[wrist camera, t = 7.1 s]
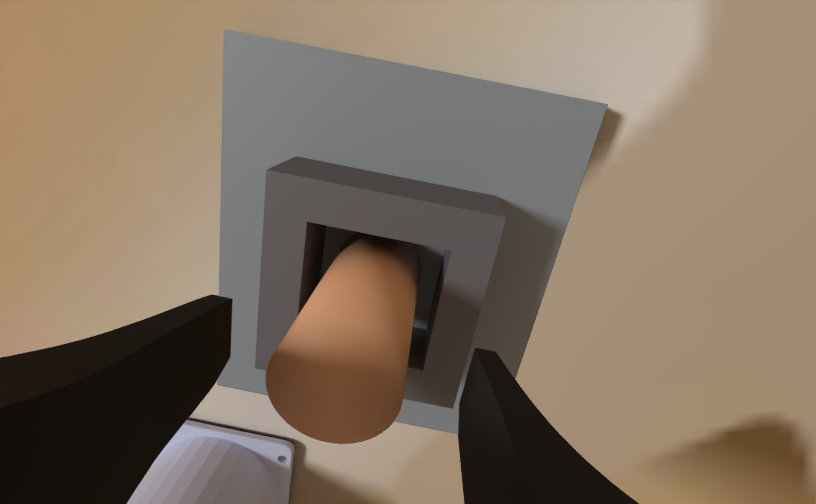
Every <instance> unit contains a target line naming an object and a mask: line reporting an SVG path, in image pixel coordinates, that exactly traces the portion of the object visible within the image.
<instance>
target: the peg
mask: <svg viewBox="0 0 816 504" xmlns="http://www.w3.org/2000/svg"><path fill="white" fill-rule="evenodd" d="M420 270H421V264H420V258H419V255H418V252H417V250H416V248H415V247H414V245H413V244H412V243H411V242H406V241H401V240H396V239H391V238H386V237H381V236H376V235H371V234H366V233H361V232H357V233H355V234H354V235H352V236H351V237H350V238H349V239H348V240H347V241H346V243H345V244H344V245H343V247H342V249H341V250H340V252H339V253H338V255H337V256H336V258H335V259H334V261H333V262H332V264H331V265H330V267H329V269H328V270H327V272H326V273H325V275H324V276H323V278H322V279H321V281H320V282H319V284H318V285H317V287H316V289H315V290H314V292H313V293H312V295H311V296H310V298H309V299H308V301H307V302H306V304H305V305H304V307H303V309H302V310H301V312H300V313H299V315H298V316H297V318H296V319H295V321H294V322H293V324H292V325H291V327H290V329H289V330H288V332H287V333H286V335H285V336H284V338H283V339H282V341H281V342H280V344H279V345H278V347H277V349H276V350H275V352H274V353H273V355H272V357H271V358H270V360H269V363H268V366H267V370H266V388H267V392H268V396H269V398H270V401H271V403H272V405H273V406H274V408H275V409H276V411H277V412H278V413H279V415H280V416H281V417H282V418H283V419H284V420H285V421H286V422H287V423H288V424H289V425H291V426H292V427H293V428H295V429H296V430H298V431H299V432H301V433H303V434H305V435H307V436H309V437H311V438H314V439H317V440H320V441H324V442H329V443H338V444H349V443H357V442H362V441H365V440H368V439H371V438H373V437H375V436H377V435H379V434H381V433H382V432H383V431H385V430H386V429H387V428H388V427H389V426H390V425H391V424H392V423H393V422H394V420H395V419H396V418H397V416H398V414H399V412H400V409H401V406H402V402H403V395H404V388H405V381H406V373H407V366H408V359H409V351H410V344H411V337H412V329H413V322H414V314H415V307H416V300H417V292H418V285H419V278H420Z"/></svg>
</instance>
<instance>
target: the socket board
mask: <svg viewBox="0 0 816 504" xmlns="http://www.w3.org/2000/svg"><path fill="white" fill-rule="evenodd" d="M607 105H608V104H604V103H599V102H594V101H589V100H584V99H578V98H573V97H568V96H563V95H558V94H553V93H548V92H543V91H538V90H532V89H527V88H522V87H517V86H512V85H507V84H502V83H497V82H492V81H486V80H481V79H476V78H471V77H466V76H461V75H456V74H451V73H446V72H440V71H435V70H430V69H425V68H420V67H415V66H410V65H405V64H400V63H394V62H389V61H384V60H379V59H374V58H369V57H364V56H359V55H354V54H348V53H343V52H338V51H333V50H328V49H323V48H318V47H313V46H308V45H302V44H297V43H292V42H287V41H282V40H277V39H272V38H267V37H262V36H256V35H251V34H246V33H241V32H236V31H231V30H226V29H224V51H223V104H222V156H221V209H220V262H219V296H222V297H227V298H232V299H233V301H232V330H231V357H230V359H229V360H228V362H227V364H226V366H225V367H224V369H223V371H222V373H221V374H220V376H219V378H218V379H217V385H220V386H225V387H230V388H234V389H239V390H244V391H249V392H254V393H259V394H264V395H268V392H267V388H266V370H267V366H268V363H269V360H270V358H271V357H272V355H273V353H274V352H275V350H276V349H277V347H278V345H279V344H280V342H281V341H282V339H283V338H284V336H285V335H286V333H287V332H288V330H289V329H290V327H291V325H292V324H293V322H294V321H295V319H296V318H297V316H298V315H299V313H300V312H301V310H302V309H303V307H304V305H305V304H306V302H307V301H308V299H309V298H310V296H311V295H312V293H313V292H314V290H315V289H316V287H317V285H318V284H319V282H320V281H321V279H322V278H323V276H324V275H325V273H326V272H327V270H328V269H329V267H330V265H331V264H332V262H333V261H334V259H335V258H336V256H337V255H338V253H339V252H340V250H341V249H342V247H343V245H344V244H345V243H346V241H347V240H348V239H349V238H350V237H351V236H352V235H354V234H355V233H357V232H361V233H366V234H371V235H376V236H381V237H386V238H391V239H396V240H401V241H406V242H411V243H412V244H413V245H414V247H415V248H416V250H417V252H418V255H419V258H420V264H421V270H420V278H419V285H418V292H417V300H416V307H415V314H414V322H413V329H412V337H411V344H410V351H409V359H408V366H407V373H406V381H405V388H404V395H403V402H402V406H401V409H400V412H399V414H398V416H397V418H396V419H395V420H394V421H395V422H400V423H405V424H410V425H415V426H420V427H425V428H430V429H434V430H439V431H444V432H449V433H454V434H458V420H459V402H460V399H461V395H462V391H463V388H464V384H465V381H466V377H467V374H468V370H469V367H470V363H471V360H472V356H473V353H474V349H475V348H480V349H485V350H490V351H495V352H496V353H497V354H498V356H499V357H500V358H501V360H502V361H503V363H504V364H505V366H506V367H507V369H508V370H509V371H510V373H511V374H512V376H513V377H514V379H515V378H516V375H517V372H518V369H519V366H520V363H521V360H522V357H523V354H524V351H525V348H526V346H527V343H528V340H529V337H530V334H531V331H532V328H533V325H534V322H535V319H536V316H537V313H538V309H539V307H540V304H541V301H542V298H543V295H544V292H545V289H546V286H547V283H548V280H549V277H550V274H551V271H552V269H553V266H554V263H555V259H556V257H557V254H558V251H559V247H560V245H561V242H562V239H563V236H564V233H565V230H566V227H567V224H568V221H569V218H570V215H571V212H572V209H573V206H574V203H575V200H576V197H577V194H578V191H579V188H580V186H581V183H582V180H583V177H584V174H585V171H586V168H587V165H588V162H589V159H590V156H591V153H592V150H593V147H594V144H595V141H596V138H597V135H598V132H599V129H600V126H601V123H602V120H603V117H604V114H605V111H606V108H607Z"/></svg>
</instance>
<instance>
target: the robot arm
mask: <svg viewBox="0 0 816 504" xmlns="http://www.w3.org/2000/svg"><path fill="white" fill-rule="evenodd" d="M232 301H233V299H232V298H227V297H222V296H217V295H209V296H206V297H203V298H200V299H197V300H194V301H191V302H189V303H186V304H184V305H181V306H178V307H176V308H173V309H171V310H168V311H165V312H163V313H160V314H157V315H155V316H152V317H150V318H147V319H144V320H141V321H138V322H135V323H133V324H130V325H127V326H124V327H121V328H118V329H115V330H112V331H109V332H106V333H103V334H100V335H96V336H93V337H90V338H86V339H82V340H79V341H75V342H71V343H67V344H63V345H59V346H55V347H51V348H46V349H41V350H37V351H32V352H27V353H22V354H17V355H12V356H8V357H2V358H0V504H288V502H289V493H290V484H291V475H292V466H293V457H294V446H293V444H292V443H291V442H289V441H286V440H282V439H277V438H272V437H267V436H262V435H257V434H253V433H248V432H243V431H238V430H233V429H228V428H223V427H219V426H214V425H209V424H204V423H199V422H194V421H189V420H187V419H188V418H189V416H190V415H191V414H192V413H193V411H194V410H195V409H196V408H197V406H198V405H199V404H200V403H201V401H202V400H203V399H204V397H205V396H206V395H207V394H208V392H209V391H210V390H211V388H212V387H213V386H214V384H215V383H216V381H217V379H218V378H219V376H220V374H221V373H222V371H223V369H224V367H225V366H226V364H227V362H228V360H229V359H230V357H231V330H232ZM458 440H459V451H460V462H461V472H462V482H463V493H464V503H465V504H639V503H637V502H636V501H635V500H633V499H632V498H631V497H629V496H628V495H627V494H625V493H624V492H623V491H622V490H620V489H619V488H618V487H617V486H615V485H614V484H613V483H612V482H610V481H609V480H608V479H607V478H606V477H605V476H603V475H602V474H601V473H600V472H599V471H598V470H596V469H595V468H594V467H593V466H592V465H590V463H588V462H587V461H586V460H585V459H584V458H583V457H582V456H581V455H580V454H579V453H578V452H577V451H576V450H575V449H574V448H573V447H572V446H571V445H570V444H569V443H568V442H567V441H566V440H565V439H564V438H563V437H562V436H561V435H560V434H559V433H558V432H557V431H556V430H555V429H554V428H553V426H552V425H550V423H549V422H548V421H547V419H546V418H545V417H544V416H543V415H542V414H541V413H540V411H539V410H538V409H537V408H536V406H535V405H534V404H533V403H532V401H531V400H530V399H529V398H528V396H527V395H526V394H525V392H524V391H523V390H522V388H521V387H520V385H519V384H518V383H517V381H516V380H515V379H514V377H513V376H512V374H511V373H510V371H509V370H508V369H507V367H506V366H505V364H504V363H503V361H502V360H501V358H500V357H499V356H498V354H497V353H496V352H495V351H490V350H485V349H480V348H475V349H474V353H473V356H472V360H471V363H470V367H469V370H468V374H467V377H466V381H465V384H464V388H463V391H462V395H461V399H460V402H459V420H458ZM283 456H285V457H283ZM150 467H151V469H150V471H149V472H148V473H147V471H148V470H149V468H150ZM146 473H147V475H146ZM145 475H146V476H145ZM144 476H145V477H144ZM142 479H143V480H142Z"/></svg>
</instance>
